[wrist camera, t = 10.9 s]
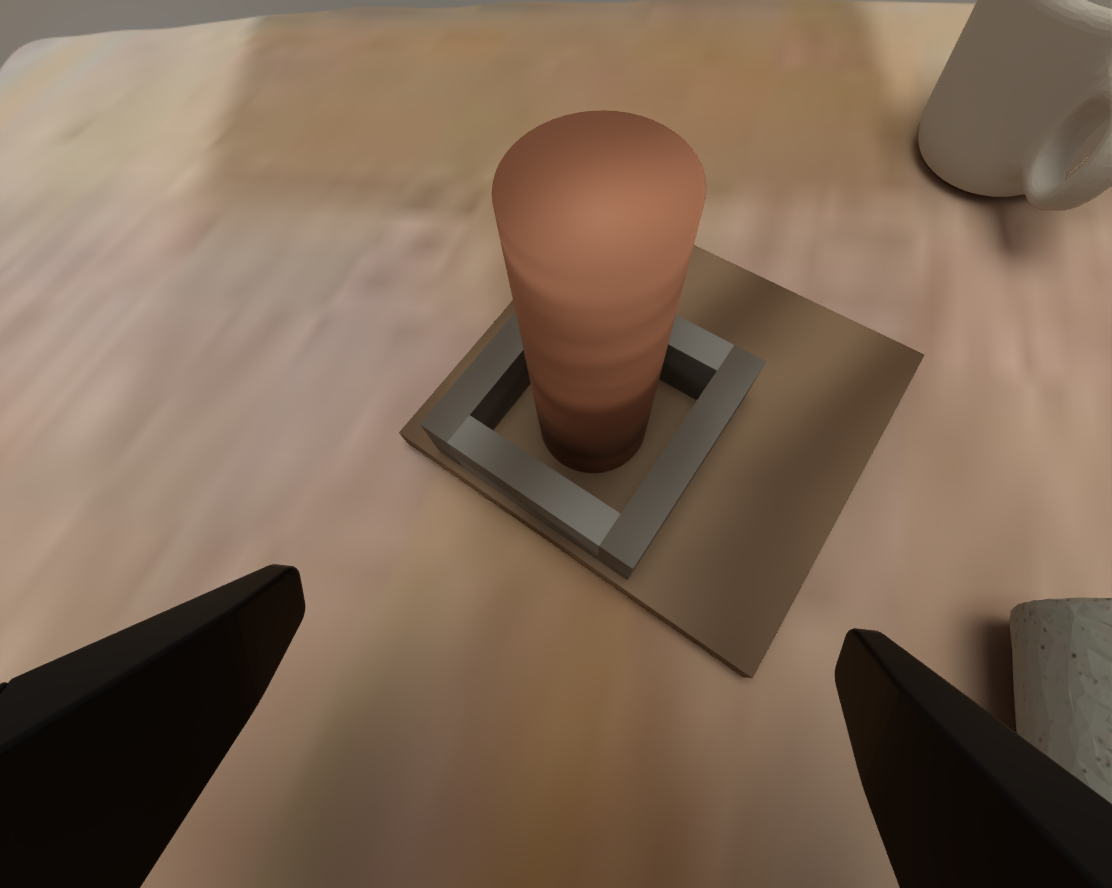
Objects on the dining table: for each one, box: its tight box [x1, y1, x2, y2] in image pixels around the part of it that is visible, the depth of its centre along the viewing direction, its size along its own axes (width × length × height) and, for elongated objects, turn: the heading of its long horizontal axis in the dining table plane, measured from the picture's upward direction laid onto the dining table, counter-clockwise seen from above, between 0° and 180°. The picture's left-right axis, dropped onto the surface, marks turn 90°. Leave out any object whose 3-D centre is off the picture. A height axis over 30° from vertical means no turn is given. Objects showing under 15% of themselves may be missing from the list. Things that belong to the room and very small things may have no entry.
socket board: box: [399, 245, 924, 678], centre depth 20 cm, size 15×14×4 cm
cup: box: [918, 0, 1112, 210], centre depth 21 cm, size 11×8×8 cm
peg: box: [492, 111, 706, 473], centre depth 15 cm, size 4×4×11 cm
